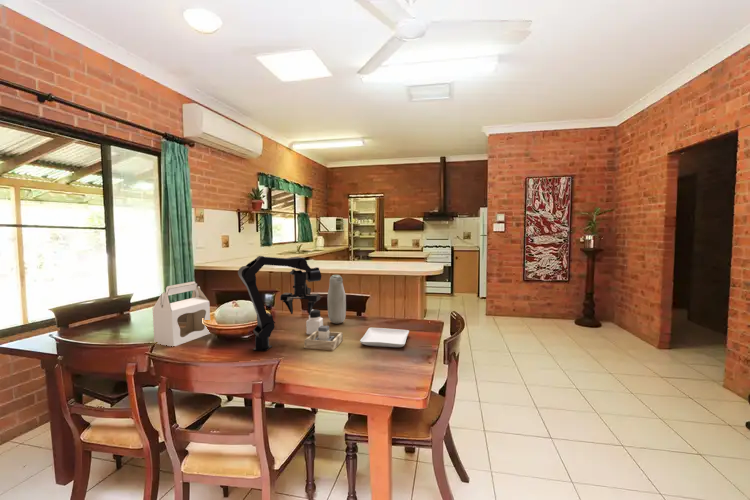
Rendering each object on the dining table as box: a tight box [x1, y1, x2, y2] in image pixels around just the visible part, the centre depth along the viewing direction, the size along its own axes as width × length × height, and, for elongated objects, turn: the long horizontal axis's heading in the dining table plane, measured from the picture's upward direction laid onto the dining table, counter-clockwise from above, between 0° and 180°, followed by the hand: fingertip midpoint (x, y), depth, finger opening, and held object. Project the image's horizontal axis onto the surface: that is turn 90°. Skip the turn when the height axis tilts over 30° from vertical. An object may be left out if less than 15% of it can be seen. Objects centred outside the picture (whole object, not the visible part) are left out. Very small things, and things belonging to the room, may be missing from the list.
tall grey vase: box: [326, 274, 347, 325], centre depth 200 cm, size 10×10×28 cm
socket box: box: [303, 331, 343, 351], centre depth 166 cm, size 14×14×4 cm
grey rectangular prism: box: [318, 325, 330, 340], centre depth 166 cm, size 4×4×8 cm
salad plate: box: [359, 327, 410, 348], centre depth 170 cm, size 21×21×3 cm
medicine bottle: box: [305, 308, 324, 335], centre depth 184 cm, size 7×7×12 cm
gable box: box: [152, 280, 211, 347], centre depth 175 cm, size 22×13×28 cm, turn 158°
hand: (300, 314), depth 171 cm, fingers open, 9 cm apart
